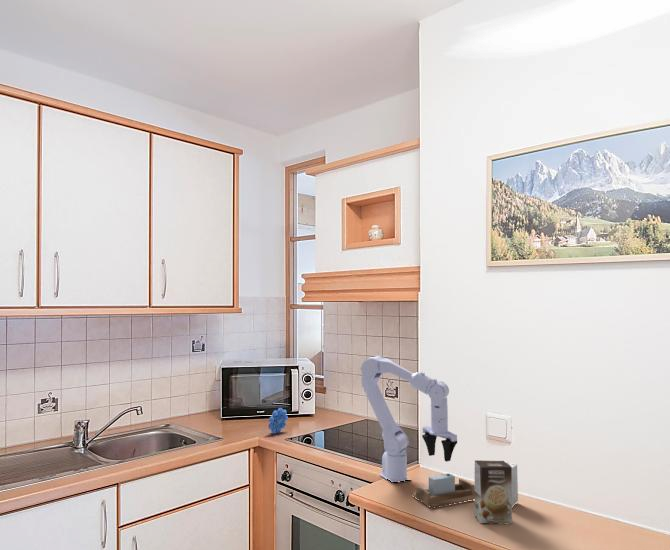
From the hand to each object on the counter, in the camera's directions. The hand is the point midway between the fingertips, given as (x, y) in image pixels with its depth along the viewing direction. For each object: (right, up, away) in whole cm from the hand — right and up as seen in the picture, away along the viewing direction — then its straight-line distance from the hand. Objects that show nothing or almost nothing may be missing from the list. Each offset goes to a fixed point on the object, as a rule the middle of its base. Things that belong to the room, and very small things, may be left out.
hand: (439, 458), depth 176 cm
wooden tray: (-1, -9, -12) cm, 15 cm away
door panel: (-2, -8, -12) cm, 15 cm away
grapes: (-64, -13, +71) cm, 96 cm away
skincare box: (+18, -9, -17) cm, 26 cm away
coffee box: (+10, -8, -28) cm, 31 cm away
